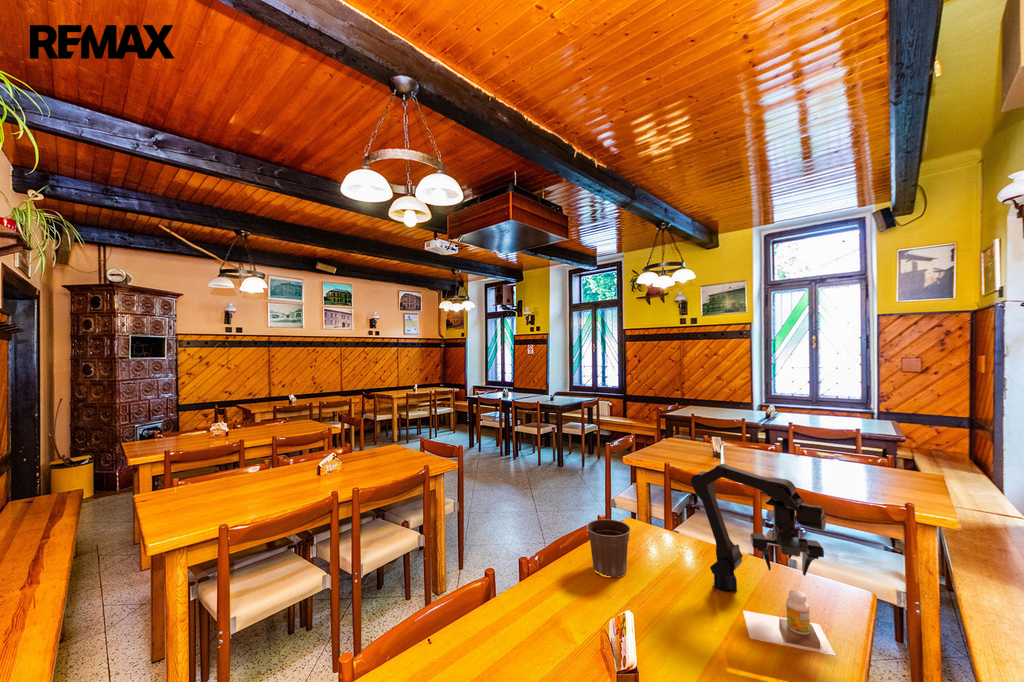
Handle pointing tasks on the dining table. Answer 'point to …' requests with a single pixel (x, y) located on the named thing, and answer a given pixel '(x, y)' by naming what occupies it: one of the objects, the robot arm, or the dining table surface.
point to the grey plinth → (799, 636)
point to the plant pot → (609, 546)
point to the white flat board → (780, 632)
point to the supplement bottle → (798, 613)
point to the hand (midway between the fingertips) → (786, 572)
